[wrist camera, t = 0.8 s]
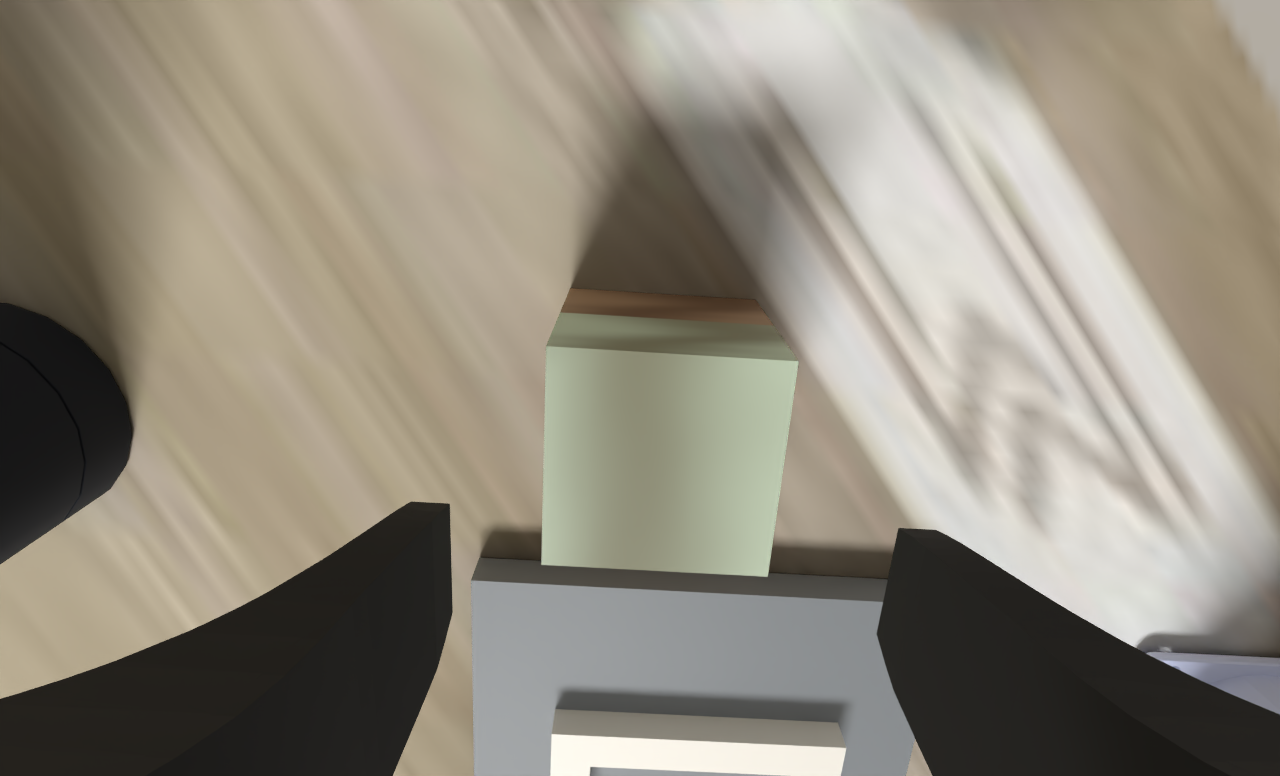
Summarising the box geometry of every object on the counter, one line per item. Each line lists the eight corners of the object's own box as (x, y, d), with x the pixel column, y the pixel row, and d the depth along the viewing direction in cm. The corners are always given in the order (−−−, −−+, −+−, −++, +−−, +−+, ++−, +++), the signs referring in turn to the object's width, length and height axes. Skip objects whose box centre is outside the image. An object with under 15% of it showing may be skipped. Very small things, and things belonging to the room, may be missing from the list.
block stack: (755, 299, 20) (798, 361, 14) (735, 466, 21) (767, 576, 16) (570, 287, 20) (546, 346, 14) (564, 456, 21) (541, 564, 16)
